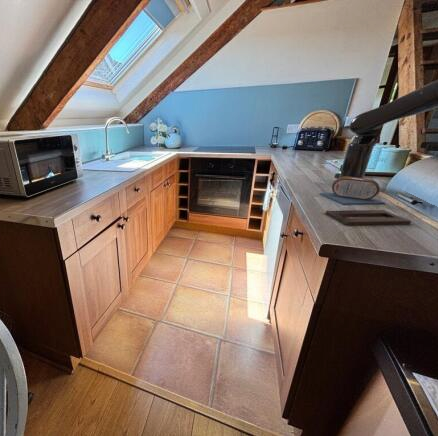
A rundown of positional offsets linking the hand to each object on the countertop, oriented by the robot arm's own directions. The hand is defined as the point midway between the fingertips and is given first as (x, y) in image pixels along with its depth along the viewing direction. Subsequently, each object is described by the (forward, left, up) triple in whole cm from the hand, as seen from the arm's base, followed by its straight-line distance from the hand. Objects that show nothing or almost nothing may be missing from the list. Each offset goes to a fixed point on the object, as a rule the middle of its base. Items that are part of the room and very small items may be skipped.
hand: (423, 145), depth 85 cm
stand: (+13, -23, -22) cm, 35 cm away
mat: (-9, -12, -22) cm, 27 cm away
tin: (-8, -12, -22) cm, 26 cm away
